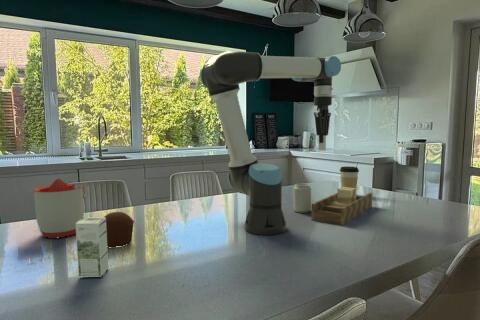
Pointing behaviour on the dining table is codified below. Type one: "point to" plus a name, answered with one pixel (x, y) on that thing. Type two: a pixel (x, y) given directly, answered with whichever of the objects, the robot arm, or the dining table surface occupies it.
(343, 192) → the maple block
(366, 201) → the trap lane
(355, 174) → the coffee cup
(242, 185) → the robot arm
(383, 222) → the dining table surface
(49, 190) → the citrus juicer
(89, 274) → the syrup box
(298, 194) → the can
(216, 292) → the dining table surface
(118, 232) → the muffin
